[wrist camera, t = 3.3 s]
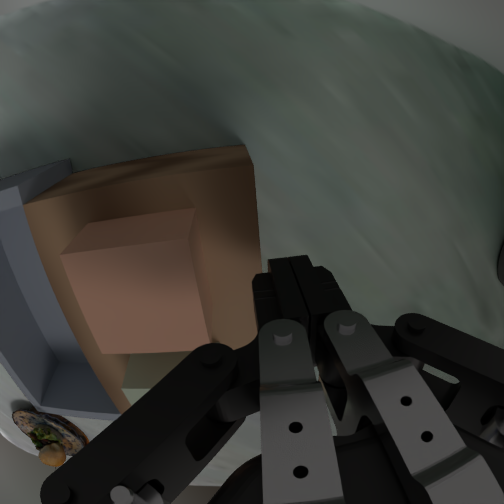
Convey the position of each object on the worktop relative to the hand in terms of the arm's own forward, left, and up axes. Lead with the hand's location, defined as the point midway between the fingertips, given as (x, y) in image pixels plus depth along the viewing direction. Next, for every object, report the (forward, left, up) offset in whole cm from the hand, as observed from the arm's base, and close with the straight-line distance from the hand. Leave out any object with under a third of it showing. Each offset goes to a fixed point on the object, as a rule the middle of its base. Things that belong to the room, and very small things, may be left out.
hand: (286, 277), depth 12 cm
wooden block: (+6, +4, -8) cm, 11 cm away
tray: (+16, +4, -8) cm, 19 cm away
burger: (+31, +27, -9) cm, 42 cm away
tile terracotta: (+6, 0, -2) cm, 6 cm away
